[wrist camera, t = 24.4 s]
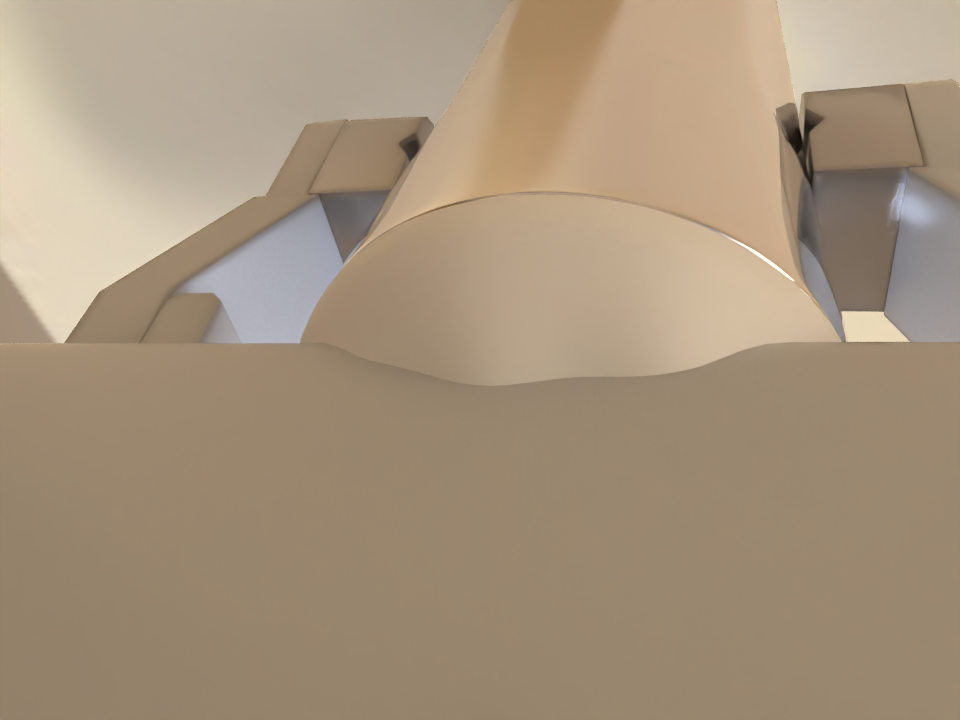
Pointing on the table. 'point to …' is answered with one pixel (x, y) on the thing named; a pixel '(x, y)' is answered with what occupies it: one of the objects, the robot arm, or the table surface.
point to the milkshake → (597, 205)
